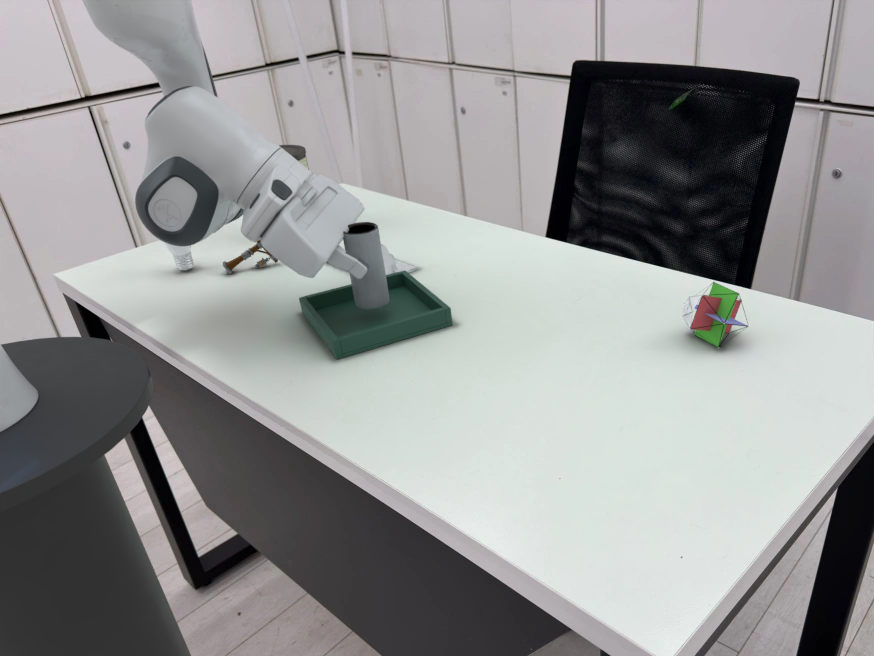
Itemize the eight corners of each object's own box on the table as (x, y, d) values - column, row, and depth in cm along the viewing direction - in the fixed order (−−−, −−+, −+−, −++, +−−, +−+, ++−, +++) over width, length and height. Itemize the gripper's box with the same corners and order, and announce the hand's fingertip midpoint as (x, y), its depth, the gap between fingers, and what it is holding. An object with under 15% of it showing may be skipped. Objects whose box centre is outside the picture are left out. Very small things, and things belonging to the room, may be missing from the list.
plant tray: (337, 359, 91) (333, 341, 89) (302, 314, 102) (298, 297, 101) (452, 325, 97) (450, 307, 95) (407, 286, 108) (405, 270, 107)
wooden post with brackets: (283, 259, 118) (265, 236, 116) (240, 286, 118) (221, 264, 116) (282, 255, 120) (264, 233, 117) (240, 282, 120) (221, 260, 117)
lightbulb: (200, 259, 123) (181, 194, 118) (212, 270, 119) (193, 202, 113) (161, 270, 120) (139, 203, 115) (171, 281, 116) (149, 212, 110)
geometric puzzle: (728, 301, 92) (702, 262, 87) (770, 320, 87) (744, 280, 82) (690, 344, 92) (662, 308, 87) (730, 367, 87) (701, 329, 82)
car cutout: (416, 269, 114) (412, 241, 111) (381, 284, 110) (376, 255, 107) (359, 248, 123) (354, 222, 121) (325, 261, 119) (319, 234, 117)
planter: (375, 312, 96) (362, 236, 90) (348, 306, 98) (333, 231, 92) (396, 298, 99) (385, 223, 94) (369, 293, 101) (357, 220, 96)
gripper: (293, 186, 102) (374, 251, 106) (235, 239, 84) (335, 315, 88) (318, 151, 99) (401, 219, 103) (264, 199, 81) (366, 279, 86)
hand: (370, 264), depth 96 cm, fingers closed on planter, 4 cm apart
